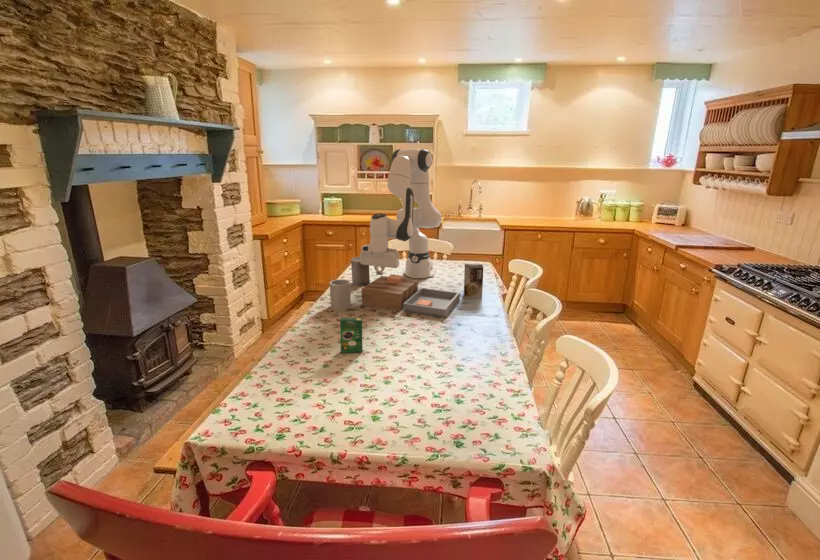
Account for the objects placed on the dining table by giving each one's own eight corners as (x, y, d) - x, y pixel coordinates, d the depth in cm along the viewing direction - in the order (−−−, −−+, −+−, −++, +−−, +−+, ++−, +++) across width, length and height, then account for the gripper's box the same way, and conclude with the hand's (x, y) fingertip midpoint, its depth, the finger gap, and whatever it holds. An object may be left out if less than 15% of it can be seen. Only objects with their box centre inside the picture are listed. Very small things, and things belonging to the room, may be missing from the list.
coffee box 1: (363, 349, 157) (362, 316, 153) (363, 353, 155) (362, 319, 151) (341, 349, 157) (339, 317, 153) (340, 353, 154) (339, 320, 150)
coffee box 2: (481, 294, 215) (483, 264, 210) (482, 299, 209) (483, 267, 204) (463, 294, 216) (464, 263, 211) (463, 298, 210) (464, 267, 205)
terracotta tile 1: (432, 301, 196) (432, 306, 197) (420, 299, 198) (420, 304, 199) (428, 305, 191) (427, 310, 192) (415, 303, 193) (415, 308, 194)
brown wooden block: (381, 290, 221) (381, 275, 218) (417, 295, 214) (417, 280, 211) (362, 304, 201) (361, 288, 199) (400, 310, 194) (400, 294, 192)
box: (421, 295, 214) (421, 287, 213) (459, 300, 207) (459, 292, 206) (403, 311, 193) (403, 303, 192) (445, 318, 186) (445, 309, 185)
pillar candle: (371, 280, 237) (370, 254, 232) (368, 286, 227) (366, 259, 223) (354, 280, 238) (352, 254, 233) (350, 285, 228) (348, 258, 224)
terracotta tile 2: (391, 279, 213) (391, 274, 213) (402, 280, 211) (402, 275, 210) (386, 282, 208) (386, 277, 207) (397, 283, 206) (397, 279, 205)
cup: (346, 310, 194) (345, 286, 190) (328, 309, 195) (326, 284, 192) (353, 303, 202) (352, 280, 199) (335, 302, 204) (334, 278, 200)
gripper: (401, 248, 206) (401, 275, 210) (363, 244, 214) (364, 270, 218) (396, 250, 201) (396, 278, 205) (357, 246, 208) (358, 274, 212)
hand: (379, 274), depth 211 cm, fingers closed
